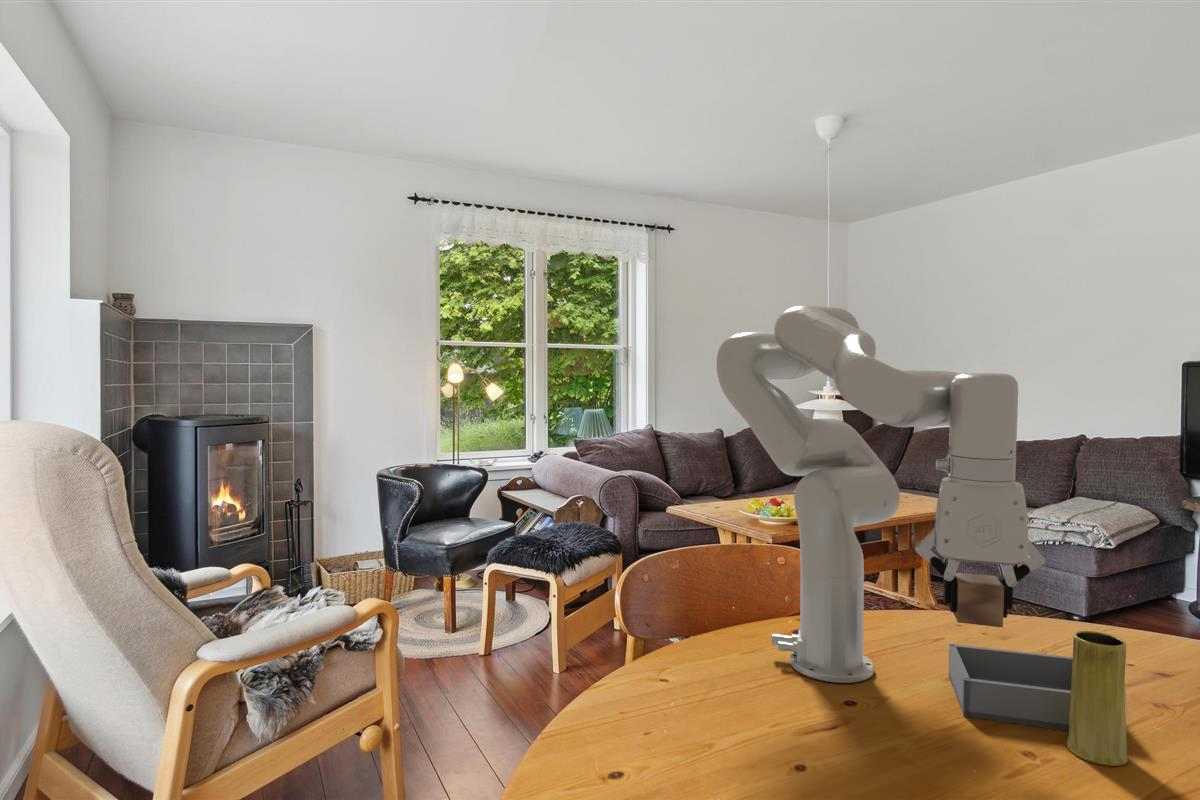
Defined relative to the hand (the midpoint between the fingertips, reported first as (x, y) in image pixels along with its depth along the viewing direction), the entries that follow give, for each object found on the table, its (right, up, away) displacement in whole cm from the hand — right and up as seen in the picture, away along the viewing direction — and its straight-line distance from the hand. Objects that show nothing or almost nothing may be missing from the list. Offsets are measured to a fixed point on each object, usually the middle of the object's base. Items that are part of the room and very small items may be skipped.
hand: (976, 610), depth 90 cm
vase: (+13, -17, -4) cm, 21 cm away
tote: (+12, -16, +9) cm, 22 cm away
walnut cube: (0, -1, 0) cm, 1 cm away
